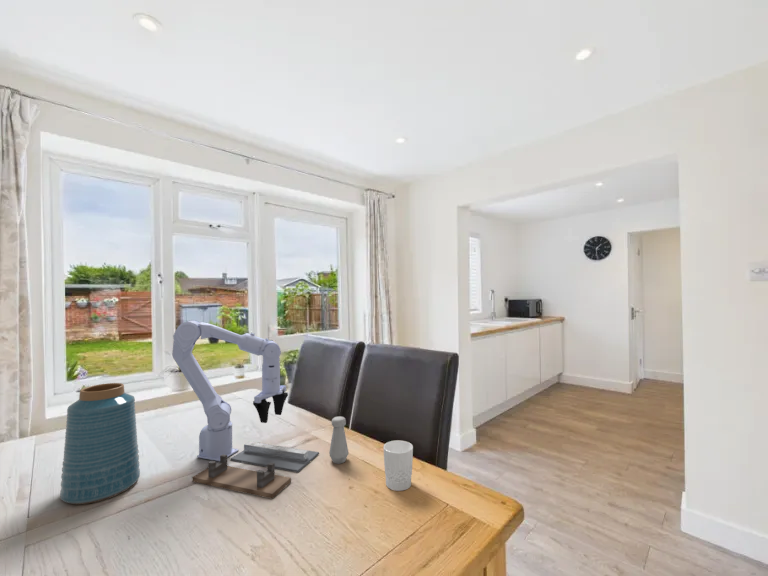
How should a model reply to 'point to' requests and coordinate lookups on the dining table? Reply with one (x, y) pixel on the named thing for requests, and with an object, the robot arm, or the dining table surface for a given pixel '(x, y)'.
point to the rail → (276, 451)
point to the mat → (273, 460)
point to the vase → (100, 445)
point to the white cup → (398, 464)
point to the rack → (243, 479)
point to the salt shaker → (338, 441)
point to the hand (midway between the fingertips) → (271, 418)
